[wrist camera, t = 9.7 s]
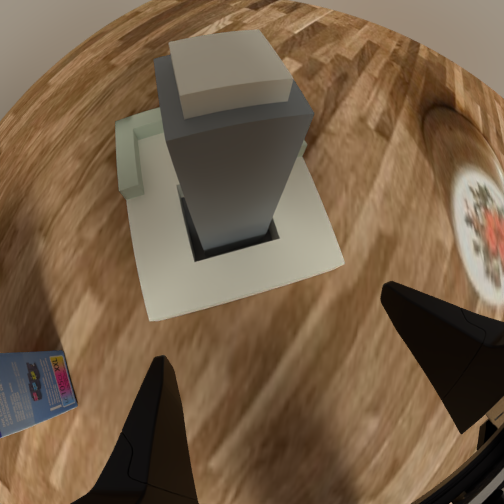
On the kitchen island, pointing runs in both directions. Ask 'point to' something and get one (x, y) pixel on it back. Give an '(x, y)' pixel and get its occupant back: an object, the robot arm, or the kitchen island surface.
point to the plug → (230, 132)
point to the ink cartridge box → (33, 389)
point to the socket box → (187, 240)
